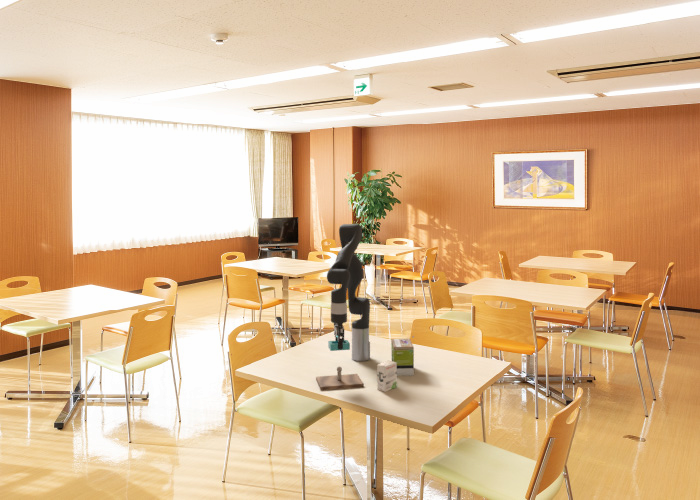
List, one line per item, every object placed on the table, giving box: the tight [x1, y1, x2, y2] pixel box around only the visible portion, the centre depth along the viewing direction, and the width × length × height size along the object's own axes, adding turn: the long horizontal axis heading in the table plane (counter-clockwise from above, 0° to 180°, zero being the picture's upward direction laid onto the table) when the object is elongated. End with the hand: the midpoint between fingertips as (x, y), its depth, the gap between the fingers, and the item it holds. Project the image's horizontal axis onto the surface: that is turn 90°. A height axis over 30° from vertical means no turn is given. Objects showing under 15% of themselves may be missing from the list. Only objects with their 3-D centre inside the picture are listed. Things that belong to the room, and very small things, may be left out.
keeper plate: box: [315, 366, 365, 391], centre depth 254 cm, size 20×14×8 cm
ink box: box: [376, 360, 398, 392], centre depth 248 cm, size 9×5×12 cm, turn 137°
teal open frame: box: [327, 339, 351, 352], centre depth 253 cm, size 9×6×3 cm, turn 102°
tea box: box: [390, 338, 415, 377], centre depth 272 cm, size 15×10×15 cm
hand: (339, 347), depth 253 cm, fingers closed on teal open frame, 6 cm apart
